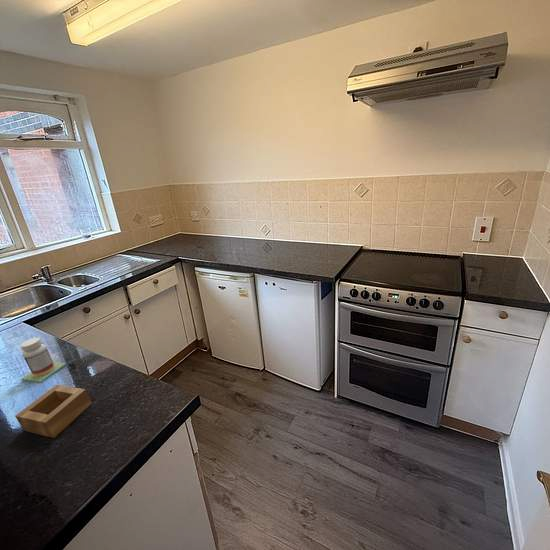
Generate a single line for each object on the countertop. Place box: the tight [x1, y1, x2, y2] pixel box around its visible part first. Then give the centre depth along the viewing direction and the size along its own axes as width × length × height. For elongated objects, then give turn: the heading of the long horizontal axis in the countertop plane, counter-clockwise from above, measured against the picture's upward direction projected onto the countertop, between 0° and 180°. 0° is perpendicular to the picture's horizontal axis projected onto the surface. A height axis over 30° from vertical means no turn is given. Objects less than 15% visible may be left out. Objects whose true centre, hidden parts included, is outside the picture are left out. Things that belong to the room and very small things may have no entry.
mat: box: [21, 361, 68, 384], centre depth 99 cm, size 9×9×1 cm
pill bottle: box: [20, 337, 55, 376], centre depth 97 cm, size 6×6×11 cm
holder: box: [14, 384, 93, 439], centre depth 78 cm, size 11×11×5 cm
